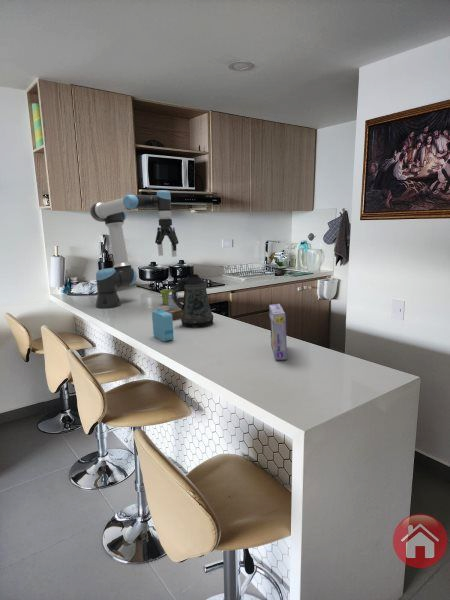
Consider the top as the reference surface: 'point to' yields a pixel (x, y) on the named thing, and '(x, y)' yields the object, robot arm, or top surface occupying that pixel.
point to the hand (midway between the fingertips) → (167, 256)
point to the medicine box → (172, 302)
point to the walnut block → (174, 313)
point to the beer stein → (193, 302)
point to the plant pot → (165, 296)
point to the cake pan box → (278, 331)
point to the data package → (162, 325)
